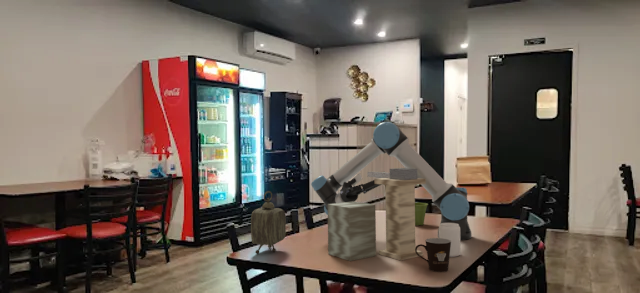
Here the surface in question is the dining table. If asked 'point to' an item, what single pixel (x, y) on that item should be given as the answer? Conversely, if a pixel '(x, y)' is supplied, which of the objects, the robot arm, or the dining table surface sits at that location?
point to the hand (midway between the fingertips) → (373, 175)
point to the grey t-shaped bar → (396, 174)
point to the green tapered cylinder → (420, 213)
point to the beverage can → (451, 237)
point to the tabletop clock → (268, 225)
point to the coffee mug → (437, 253)
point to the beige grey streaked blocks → (360, 224)
